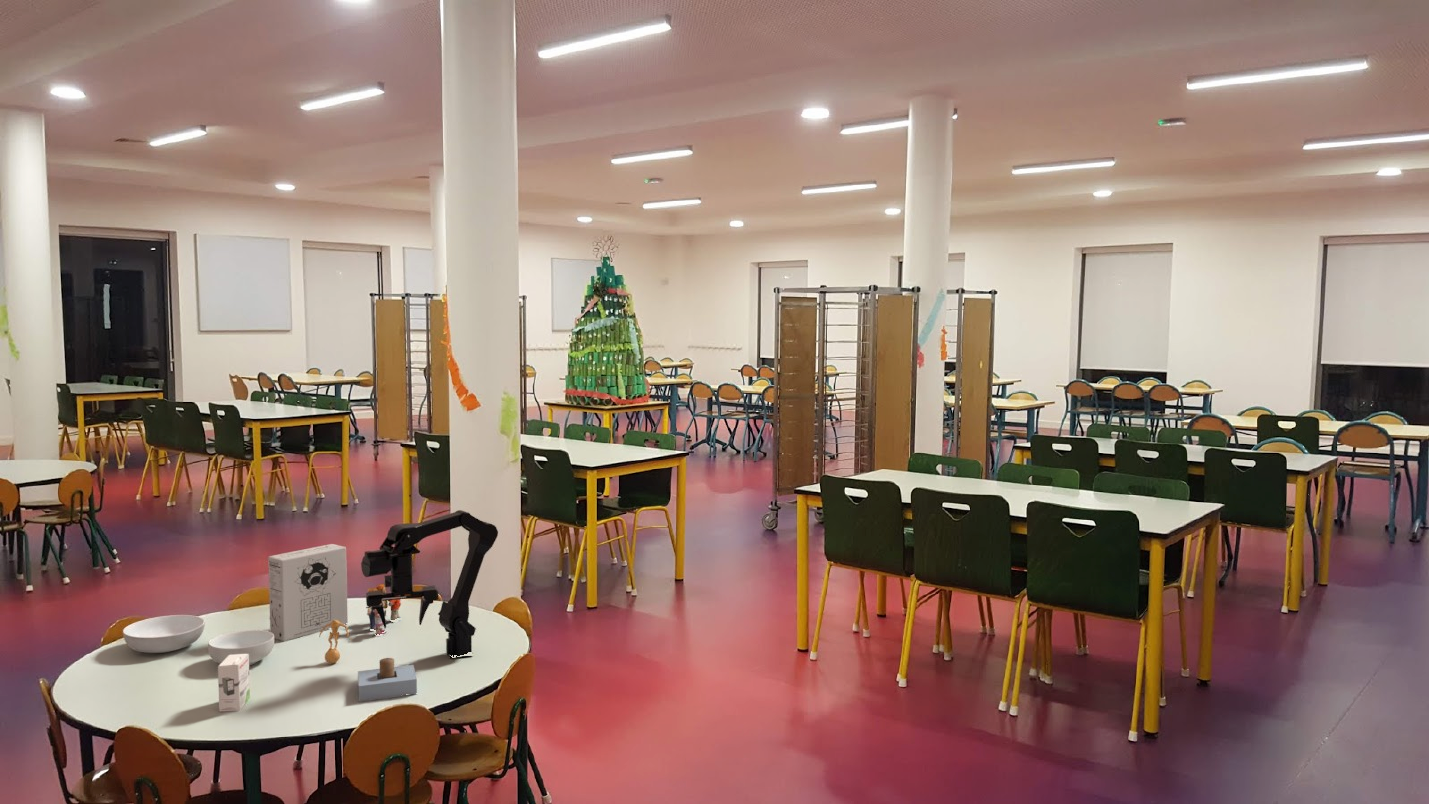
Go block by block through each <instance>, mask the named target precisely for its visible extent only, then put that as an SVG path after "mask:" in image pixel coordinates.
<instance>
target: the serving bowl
mask: <svg viewBox="0 0 1429 804" xmlns="http://www.w3.org/2000/svg"><path fill="white" fill-rule="evenodd" d="M205 625H206V621H205V619H204V618H203V617H200V616H196V615H190V614H173V615H163V616H162V615H161V616H157V617H156V616H155V617H151V618H146V619H142V620H139V621H135V622H133V623H131V624H129V625H127V626H125V627H124V628H123V629H122V635H123V639H124V642H125V643H126V645H128V647H130V648H131V649H133V650H134V651H137V652H142V653H149V654H151V653H152V654H164V653H169V652H170V653H171V652H174V651H178V650H181V649H184V648H186V647H188V646H191V645H192V644H194V643H195V642H197V641H198V640H199V638H201V636H202V634H203V632H204V630H205Z"/></svg>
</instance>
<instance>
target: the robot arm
mask: <svg viewBox="0 0 1429 804" xmlns="http://www.w3.org/2000/svg"><path fill="white" fill-rule="evenodd" d="M460 527H461V528H463V529H464V530H465V531H467V532H468V538H467V543H468V551H467V554H466V557H465V560H464V563H463V566H462V568H461V571H460V575H459V578H458V580H457V583H456V586H455V589H454V592H453V595H451V596H452V597H451V598H450V599H449V600H448V601H442V603H441V608H440V609H439V612H438V613H437V615H438V616H439V617H438V621H439V624H440V625H441V627H442V628H444V630H445V632H446V633H447V638H446V639H445V643H446V644H445V645H446V647H445V649H446V651H445V652H446V655H447V656H448V658H449V657H450V658H452V657H451V656H452V655H453V657H454V655H457V656H460V655H464V654H467V653H468V652H472V651H473V650H472V648H473V647H472V645H473V644H472V643H473V642H472V637H474V636H475V633H476V630H477V628H476V627H475V626H474V625H473V624H472V623H470V622H469V617H470V604H469V602H470V599H471V596H472V593H473V591H474V587H475V585H476V582H477V578H478V575H479V572H480V569H481V567H482V564H483V562H484V558H485V555H486V554H487V553H488V552H489V551H490V550H491V549H492V547H493V546H494V544H495V542H496V540H497V538H498V535H499V530H498V528H497V526H496V525H495V524H492V523H490V522H487V521H485V520H484V521H483V520H481V519H479V518H477V517H475V516H474V515H472V514H471V513H470V512H469V511H468V512H467V511H465V510H461V509H459V510H456V511H454V512H451V513H448V514H445V515H441V516H438V517H435V518H431V519H428V520H425V521H421V522H414V523H413V522H411V523H409V522H408V523H399V524H394V525H392V526H391V527H390V528H389V529H388V532H387V536H386V538H385V539H384V540H383V542H382V543H381V545H380V546H379V549H378V550H377V549H376V550H367V551H364V556H362V559H361V563H360V567H361V573H362V575H363V576H364V577H365V578H369V577H376V576H381V575H382V576H383V575H384V585H385V588H390V593H387V592H386V593H385V594H382V593H381V590H379V591H368V592H366V594H365V603H366V607H368V606H372V609H376V610H377V612H378V614H379V615H380V617H381V620H382V623H383V629H387V622H386V621H387V619H386V616H385V614H384V608H383V602H382V601H387V602H388V600H397V599H401V600H406V599H416V598H417V599H419V598H420V607H419V608H420V609H419V614H418V615H419V616H418V623H419V624H418V625H419V626H420V625H422V623H423V620H424V617H425V615H426V612H427V611H428V608H429V606H430V604H434V601H439V590H438V588H437V586H436V585H427V586H425V585H424V586H422V587H421V589H420V590H414V576H413V575H414V572H413V571H414V567H413V564H414V563H413V556H414V555H416V554H420V553H421V550H419V549H418V547H416V546H415V545H417V544H419V543H420V542H421V541H423V540H424V539H426V538H428V537H431V536H435V535H437V534H441V533H443V532H447V531H450V530H453V529H457V528H460ZM389 572H390V575H387V574H388V573H389ZM394 596H395V597H394ZM472 653H473V652H472ZM449 655H451V656H449ZM457 656H456V657H457ZM450 658H449V659H450ZM452 659H453V658H452Z"/></svg>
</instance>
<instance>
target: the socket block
mask: <svg viewBox="0 0 1429 804" xmlns="http://www.w3.org/2000/svg"><path fill="white" fill-rule="evenodd" d="M414 665H415V664H411V665H410V664H409V665H401V666H394V678H386V679H380V668H375V669H366V670H359V671H357V686H358V687H357V689H358V699H359V700H358V701H359V702H365V701H366V702H367V701H373V700H382V699H389V698H390V699H391V698H396V696H398V697H402V696H401V695H406V694H414V695H417V694H416V693H418V687H417V686H418V685H417V684H418V683H417V682H418V681H417V675H416V670H415V666H414ZM406 696H407V695H406Z"/></svg>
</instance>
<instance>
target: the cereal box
mask: <svg viewBox="0 0 1429 804" xmlns="http://www.w3.org/2000/svg"><path fill="white" fill-rule="evenodd" d="M267 560H268V565H267V566H268V591H269V593H268V594H269V596H268V597H269V600H268V601H269V626H270V627H269V628H270V629H269V632H271V633H273V634H274V640H275V639H276V640H277V641H281V642H287V641H291V640H295V639H297V638H302V637H305V636H310V635H312V634H318V633H321V631H322V629H323V628H324V626H325V625H327V624H329V623H331V622H332V621H333V620H334V619H335V620H338V621H339V622H340V623H342V624H346V623H348V622H349V621H348V616H349V615H348V614H349V613H348V576H347V575H348V573H347V570H348V569H347V547H346V546H344V545H343V546H342V545H339V544H334V543H329V544H324V545H320V546H319V545H318V546H314V547H309V548H305V549H300V550H294V551H289V552H283V553H279V554H274V555H269V556H267ZM346 625H347V624H346ZM328 628H331V626H328V627H325V629H324V631H326V629H328ZM331 629H332V628H331ZM328 630H329V629H328Z"/></svg>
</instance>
